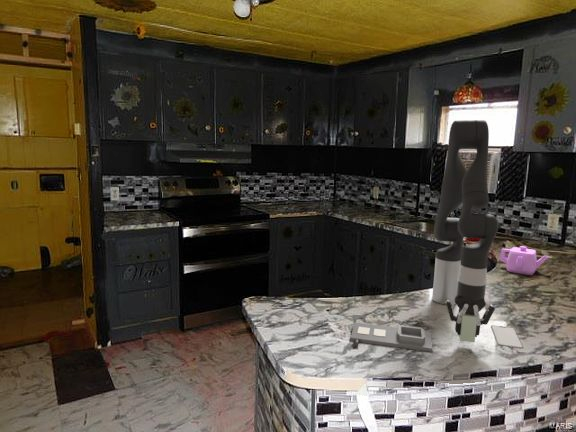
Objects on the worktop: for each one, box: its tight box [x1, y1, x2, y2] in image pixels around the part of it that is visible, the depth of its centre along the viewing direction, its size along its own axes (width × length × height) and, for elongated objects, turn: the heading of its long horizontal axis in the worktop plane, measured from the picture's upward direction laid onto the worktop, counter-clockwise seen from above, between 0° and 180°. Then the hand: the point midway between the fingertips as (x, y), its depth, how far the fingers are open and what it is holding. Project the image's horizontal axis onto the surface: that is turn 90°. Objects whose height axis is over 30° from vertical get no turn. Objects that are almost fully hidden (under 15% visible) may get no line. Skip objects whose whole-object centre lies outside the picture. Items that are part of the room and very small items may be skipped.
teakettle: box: [499, 245, 549, 276], centre depth 210 cm, size 17×17×12 cm
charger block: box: [458, 313, 477, 343], centre depth 126 cm, size 4×4×8 cm
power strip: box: [350, 322, 433, 353], centre depth 130 cm, size 16×24×3 cm, turn 76°
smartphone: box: [490, 325, 525, 349], centre depth 135 cm, size 7×1×15 cm
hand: (466, 334), depth 127 cm, fingers closed on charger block, 4 cm apart
